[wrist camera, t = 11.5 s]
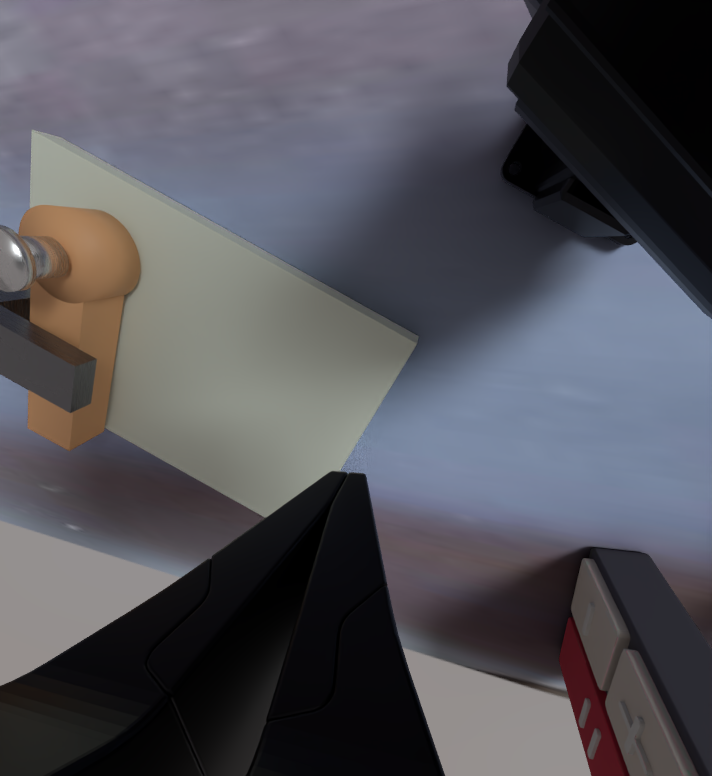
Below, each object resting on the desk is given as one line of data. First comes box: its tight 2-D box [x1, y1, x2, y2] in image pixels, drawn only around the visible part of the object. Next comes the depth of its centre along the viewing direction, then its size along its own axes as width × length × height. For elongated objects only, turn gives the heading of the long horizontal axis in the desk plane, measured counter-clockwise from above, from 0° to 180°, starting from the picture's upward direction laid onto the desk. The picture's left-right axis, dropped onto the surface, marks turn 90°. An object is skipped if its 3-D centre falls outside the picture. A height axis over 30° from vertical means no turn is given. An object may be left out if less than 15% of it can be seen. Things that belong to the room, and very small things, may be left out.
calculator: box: [559, 548, 712, 776], centre depth 16 cm, size 11×4×15 cm, turn 4°
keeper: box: [0, 225, 97, 413], centre depth 19 cm, size 8×8×7 cm
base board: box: [30, 130, 419, 518], centre depth 21 cm, size 16×22×2 cm
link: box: [19, 205, 140, 451], centre depth 20 cm, size 14×4×2 cm, turn 154°
